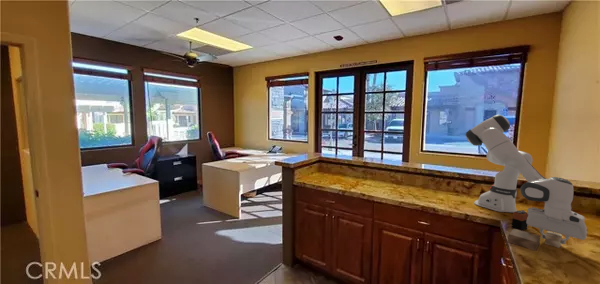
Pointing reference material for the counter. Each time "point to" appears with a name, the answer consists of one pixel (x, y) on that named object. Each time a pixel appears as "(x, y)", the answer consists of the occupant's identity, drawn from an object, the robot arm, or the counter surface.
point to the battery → (519, 220)
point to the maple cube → (553, 239)
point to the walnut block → (524, 239)
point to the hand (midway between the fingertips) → (553, 240)
